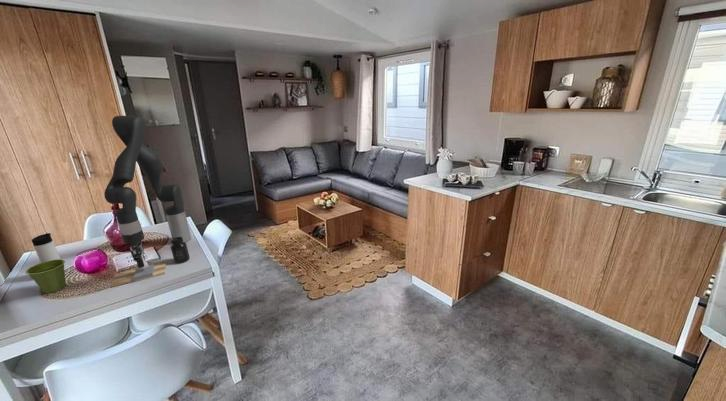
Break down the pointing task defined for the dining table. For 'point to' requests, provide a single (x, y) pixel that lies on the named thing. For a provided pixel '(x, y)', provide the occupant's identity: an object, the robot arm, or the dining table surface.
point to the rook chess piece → (144, 263)
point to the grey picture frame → (144, 272)
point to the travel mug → (45, 248)
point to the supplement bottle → (179, 250)
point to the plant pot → (48, 275)
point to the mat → (128, 275)
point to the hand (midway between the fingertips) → (142, 264)
